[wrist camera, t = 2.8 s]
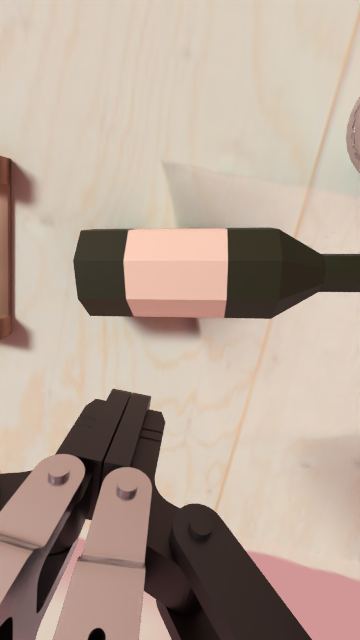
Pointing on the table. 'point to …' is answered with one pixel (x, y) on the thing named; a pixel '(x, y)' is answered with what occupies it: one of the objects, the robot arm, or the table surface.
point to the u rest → (5, 247)
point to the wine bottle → (203, 272)
